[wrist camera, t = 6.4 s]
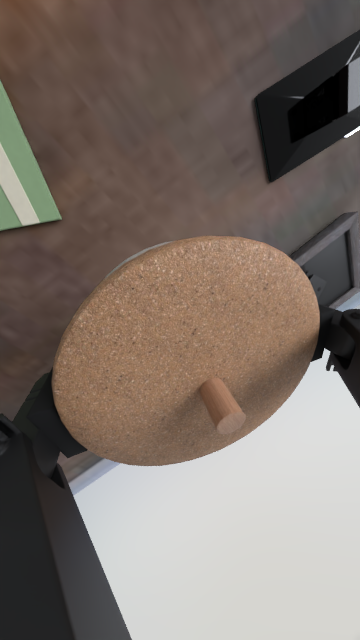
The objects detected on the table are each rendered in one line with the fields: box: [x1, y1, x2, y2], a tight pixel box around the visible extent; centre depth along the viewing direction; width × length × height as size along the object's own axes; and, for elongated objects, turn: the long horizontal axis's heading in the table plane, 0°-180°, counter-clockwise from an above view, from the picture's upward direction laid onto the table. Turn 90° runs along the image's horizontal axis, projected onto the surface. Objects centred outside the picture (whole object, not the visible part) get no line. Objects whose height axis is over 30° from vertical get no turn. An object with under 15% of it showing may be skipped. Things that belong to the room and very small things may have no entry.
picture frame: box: [289, 212, 360, 309], centre depth 27 cm, size 13×2×18 cm
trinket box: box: [52, 236, 320, 466], centre depth 10 cm, size 11×11×9 cm
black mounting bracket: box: [255, 30, 360, 182], centre depth 16 cm, size 12×7×5 cm, turn 118°
